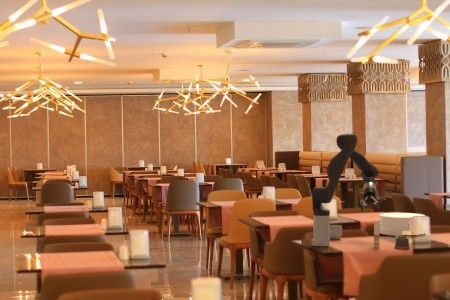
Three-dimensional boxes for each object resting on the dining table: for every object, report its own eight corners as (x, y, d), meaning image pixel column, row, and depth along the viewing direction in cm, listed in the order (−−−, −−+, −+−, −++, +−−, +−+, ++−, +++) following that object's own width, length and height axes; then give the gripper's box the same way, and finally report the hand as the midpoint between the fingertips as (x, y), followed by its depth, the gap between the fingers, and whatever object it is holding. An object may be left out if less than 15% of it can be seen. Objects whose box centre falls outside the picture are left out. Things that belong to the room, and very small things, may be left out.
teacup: (337, 240, 536) (337, 227, 536) (320, 239, 542) (320, 226, 542) (347, 237, 548) (347, 224, 548) (330, 236, 554) (330, 223, 554)
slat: (379, 247, 508) (379, 220, 508) (373, 247, 509) (374, 220, 508) (379, 246, 513) (379, 219, 513) (374, 246, 514) (374, 219, 513)
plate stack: (422, 230, 583) (422, 212, 583) (427, 236, 555) (427, 217, 555) (378, 230, 586) (378, 212, 586) (381, 235, 558) (381, 217, 558)
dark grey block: (409, 248, 503) (409, 238, 503) (395, 248, 504) (395, 238, 504) (409, 246, 513) (409, 236, 513) (394, 245, 514) (394, 236, 514)
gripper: (356, 188, 544) (356, 206, 532) (380, 185, 540) (380, 203, 528) (359, 197, 549) (359, 215, 536) (382, 194, 545) (383, 212, 532)
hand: (370, 209), depth 532 cm, fingers open, 8 cm apart
